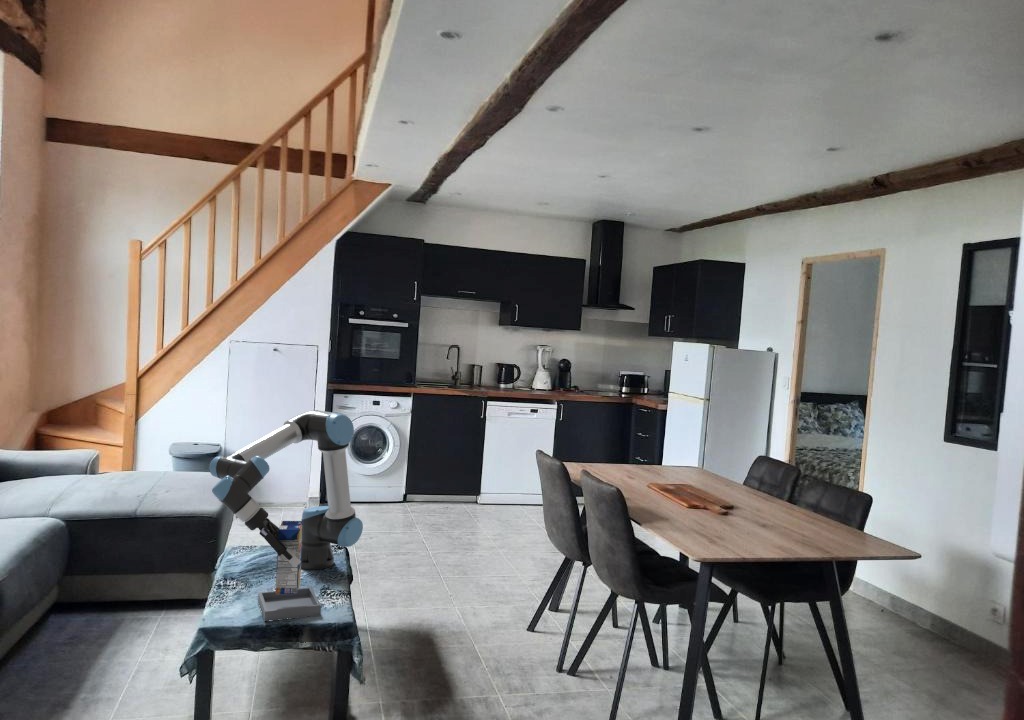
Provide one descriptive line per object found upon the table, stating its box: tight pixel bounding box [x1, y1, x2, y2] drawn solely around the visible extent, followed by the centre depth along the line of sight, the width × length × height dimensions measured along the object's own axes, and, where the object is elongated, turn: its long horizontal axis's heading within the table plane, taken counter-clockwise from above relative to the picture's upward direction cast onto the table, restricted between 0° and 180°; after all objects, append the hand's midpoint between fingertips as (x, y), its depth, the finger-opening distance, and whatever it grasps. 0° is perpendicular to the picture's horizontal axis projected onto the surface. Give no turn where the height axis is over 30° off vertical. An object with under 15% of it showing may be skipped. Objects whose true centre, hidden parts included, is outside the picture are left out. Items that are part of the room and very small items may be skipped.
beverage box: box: [275, 520, 303, 595], centre depth 248 cm, size 7×11×22 cm, turn 11°
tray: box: [257, 586, 322, 621], centre depth 249 cm, size 18×18×4 cm
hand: (298, 559), depth 249 cm, fingers closed on beverage box, 11 cm apart
